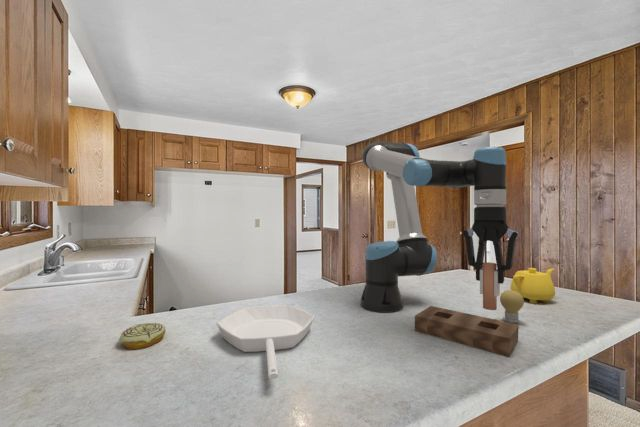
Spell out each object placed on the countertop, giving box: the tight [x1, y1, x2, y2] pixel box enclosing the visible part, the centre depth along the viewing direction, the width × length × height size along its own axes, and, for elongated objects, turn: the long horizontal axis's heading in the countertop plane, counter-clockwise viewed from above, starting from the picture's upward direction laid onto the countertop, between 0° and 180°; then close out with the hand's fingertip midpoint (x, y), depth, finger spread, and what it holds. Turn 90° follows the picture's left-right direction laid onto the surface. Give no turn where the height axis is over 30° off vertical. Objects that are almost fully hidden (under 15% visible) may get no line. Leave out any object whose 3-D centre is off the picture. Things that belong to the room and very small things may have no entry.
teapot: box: [510, 267, 556, 304], centre depth 121 cm, size 13×20×12 cm
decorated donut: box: [118, 322, 167, 350], centre depth 83 cm, size 10×11×4 cm
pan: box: [216, 304, 315, 380], centre depth 79 cm, size 28×41×4 cm
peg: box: [482, 261, 498, 311], centre depth 82 cm, size 3×3×12 cm
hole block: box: [414, 305, 519, 358], centre depth 86 cm, size 24×12×4 cm, turn 49°
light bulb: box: [499, 289, 525, 324], centre depth 97 cm, size 6×6×10 cm
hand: (489, 294), depth 82 cm, fingers closed on peg, 3 cm apart
